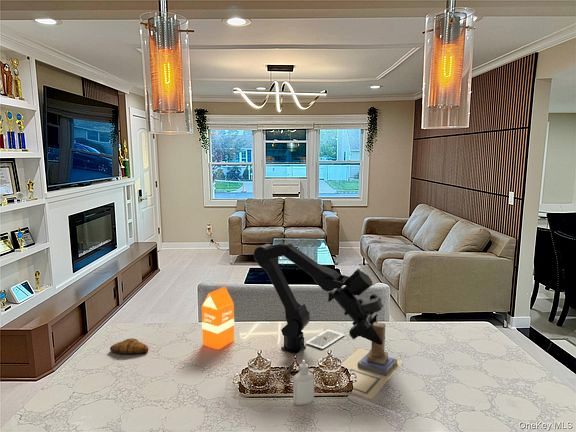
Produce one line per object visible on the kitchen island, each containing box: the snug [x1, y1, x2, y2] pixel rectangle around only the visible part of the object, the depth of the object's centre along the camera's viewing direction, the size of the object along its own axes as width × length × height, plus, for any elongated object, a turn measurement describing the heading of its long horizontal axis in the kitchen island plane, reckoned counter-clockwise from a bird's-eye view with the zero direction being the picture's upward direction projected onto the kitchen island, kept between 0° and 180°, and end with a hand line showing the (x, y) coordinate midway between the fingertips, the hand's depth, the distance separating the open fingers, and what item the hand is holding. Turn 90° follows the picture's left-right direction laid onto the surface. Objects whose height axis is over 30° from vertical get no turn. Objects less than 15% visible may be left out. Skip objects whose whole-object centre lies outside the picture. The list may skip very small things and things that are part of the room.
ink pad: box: [358, 353, 398, 376], centre depth 129 cm, size 10×10×2 cm
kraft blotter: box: [341, 348, 404, 400], centre depth 126 cm, size 16×26×1 cm, turn 145°
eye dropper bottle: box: [292, 359, 315, 406], centre depth 109 cm, size 4×6×12 cm
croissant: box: [109, 337, 149, 355], centre depth 138 cm, size 14×7×5 cm, turn 86°
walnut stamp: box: [367, 321, 389, 366], centre depth 128 cm, size 6×6×12 cm
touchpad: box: [304, 328, 346, 350], centre depth 148 cm, size 8×15×2 cm, turn 141°
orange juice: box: [201, 286, 235, 350], centre depth 144 cm, size 8×9×20 cm
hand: (382, 341), depth 127 cm, fingers closed on walnut stamp, 3 cm apart
